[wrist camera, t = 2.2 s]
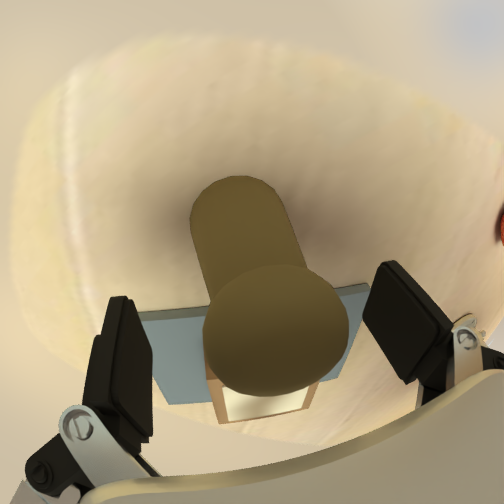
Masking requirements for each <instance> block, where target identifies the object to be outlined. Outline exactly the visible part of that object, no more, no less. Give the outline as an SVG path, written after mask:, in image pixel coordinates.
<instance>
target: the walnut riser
mask: <svg viewBox="0 0 504 504" xmlns="http://www.w3.org/2000/svg"><path fill="white" fill-rule="evenodd" d="M202 339H203V338H202ZM203 350H204V346H203ZM204 361H205V371H206V380H207V384H208V388H209V392H210V395H211V399H212V402H213V406H214V409H215V413H216V416H217V420H218V423H219V424H226V423H234V422H241V421H248V420H255V419H260V418H266V417H271V416H276V415H281V414H286V413H291V412H295V411H299V410H303V409H307V408H309V406H310V404H311V401H312V399H313V396H314V394H315V391H316V389H317V386H318V384H319V381H320V380H319V381H317V382H315V383H313V384H312V385H310V386H308V387H306V388H304V389H301V390H298V391H295V392H293V393H290V394H285V395H280V396H274V397H256V396H250V395H245V394H240V393H237V392H235V391H233V390H231V389H229V388H227V387H226V386H225V385H224V384H223V383H222V382H221V381H220V380H219V379H218V378H217V376H216V375H215V374H214V373H213V371H212V370H211V369H210V367H209V365H208V362H207V360H206V358H205V353H204Z"/></svg>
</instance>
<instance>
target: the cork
mask: <svg viewBox="0 0 504 504" xmlns="http://www.w3.org/2000/svg"><path fill="white" fill-rule="evenodd" d="M190 229H191V234H192V238H193V242H194V245H195V249H196V253H197V256H198V260H199V263H200V267H201V270H202V273H203V277H204V280H205V283H206V287H207V290H208V293H209V297H210V300H211V302H210V305H209V308H208V311H207V314H206V317H205V320H204V324H203V328H202V335H203V346H204V353H205V358H206V360H207V362H208V365H209V367H210V369H211V370H212V371H213V373H214V374H215V375H216V376H217V378H218V379H219V380H220V381H221V382H222V383H223V384H224V385H225V386H226V387H227V388H229V389H231V390H233V391H235V392H237V393H240V394H245V395H250V396H256V397H274V396H280V395H285V394H290V393H293V392H295V391H298V390H301V389H304V388H306V387H308V386H310V385H312V384H313V383H315V382H317V381H319V380H320V379H321V378H323V377H324V376H325V375H327V374H328V373H329V372H330V371H331V370H332V369H333V368H334V367H335V365H336V364H337V363H338V362H339V361H340V360H341V359H342V357H343V355H344V353H345V350H346V348H347V346H348V339H349V319H348V315H347V311H346V308H345V306H344V305H343V303H342V301H341V299H340V298H339V296H338V295H337V293H336V292H335V290H334V289H333V287H332V286H331V285H330V284H329V283H328V282H327V281H325V280H324V279H323V278H321V277H320V276H318V275H317V274H315V273H314V272H312V271H310V270H309V269H307V266H306V263H305V260H304V258H303V255H302V252H301V250H300V247H299V244H298V242H297V239H296V237H295V234H294V231H293V229H292V226H291V224H290V221H289V219H288V216H287V214H286V211H285V208H284V206H283V204H282V201H281V199H280V198H279V196H278V195H277V193H276V192H275V190H274V189H273V188H272V187H270V186H269V185H267V184H266V183H265V182H263V181H262V180H259V179H256V178H252V177H249V176H230V177H227V178H224V179H222V180H219V181H216V182H214V183H213V184H212V185H210V186H209V187H208V188H206V189H205V190H204V191H202V193H201V194H200V196H199V197H198V198H197V200H196V201H195V203H194V205H193V208H192V212H191V215H190Z"/></svg>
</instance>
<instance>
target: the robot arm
mask: <svg viewBox="0 0 504 504" xmlns="http://www.w3.org/2000/svg"><path fill="white" fill-rule="evenodd" d="M362 318H363V321H364V323H365V324H366V326H367V327H368V329H369V330H370V332H371V333H372V335H373V337H374V338H375V340H376V341H377V343H378V344H379V346H380V348H381V349H382V351H383V352H384V354H385V356H386V357H387V359H388V360H389V362H390V364H391V365H392V367H393V369H394V370H395V372H396V374H397V375H398V377H399V378H400V379H401V380H403V381H404V383H405V384H406V385H407V384H409V383H411V382H413V381H415V380H416V379H417V378H418V380H419V387H418V394H417V401H416V407H415V410H414V411H412V412H410V413H409V414H407V415H405V416H403V417H401V418H399V419H397V420H395V421H393V422H391V423H389V424H387V425H384V426H382V427H380V428H378V429H376V430H373V431H371V432H369V433H367V434H364V435H362V436H359V437H357V438H354V439H352V440H349V441H347V442H344V443H341V444H338V445H336V446H333V447H330V448H327V449H324V450H321V451H318V452H314V453H311V454H307V455H304V456H300V457H297V458H293V459H289V460H285V461H281V462H277V463H273V464H268V465H262V466H258V467H252V468H246V469H240V470H233V471H225V472H218V473H209V474H198V475H183V476H166V477H163V476H162V475H161V474H160V473H159V472H158V471H157V470H156V469H155V468H154V467H152V465H151V464H150V463H149V462H148V461H147V460H146V459H145V458H144V457H143V456H142V455H141V454H140V452H141V443H149V437H152V435H153V417H152V416H153V414H152V370H153V352H152V347H151V345H150V343H149V340H148V338H147V335H146V333H145V330H144V328H143V325H142V323H141V320H140V318H139V315H138V312H137V310H136V307H135V304H134V302H133V300H132V299H130V300H128V297H127V296H116V297H111V298H110V300H109V303H108V307H107V311H106V315H105V319H104V323H103V327H102V331H101V335H96V337H95V338H94V341H93V345H92V350H91V355H90V359H89V364H88V370H87V375H86V381H85V387H84V393H83V400H82V405H73V406H71V407H69V408H67V409H66V410H65V411H64V412H63V413H62V415H61V417H60V420H59V432H60V433H58V434H57V435H56V436H55V437H54V438H52V439H51V440H50V441H49V442H48V443H46V444H45V445H44V446H43V447H42V448H40V449H39V450H38V451H37V452H35V453H34V454H33V455H32V456H31V457H30V458H29V459H28V460H27V462H26V465H25V474H26V478H27V479H26V481H24V480H22V481H21V483H20V485H19V487H18V489H17V491H16V493H15V495H14V497H13V499H12V501H11V503H10V504H504V354H503V353H501V352H499V351H496V350H493V349H490V348H489V347H488V346H487V345H486V343H485V342H484V341H483V340H484V338H483V337H484V336H485V334H486V332H485V331H484V330H481V331H480V332H478V331H477V329H476V328H475V326H476V323H477V319H476V317H475V316H474V315H473V314H470V315H466V316H464V317H463V318H461V319H460V320H458V321H457V322H456V323H454V324H453V323H452V322H451V321H450V320H449V318H448V317H447V316H446V315H445V314H444V312H443V311H442V310H441V309H440V308H439V307H438V305H437V304H436V303H435V302H434V301H433V300H432V299H431V297H430V296H429V295H428V294H427V293H426V292H425V291H424V290H423V289H422V288H421V286H420V285H419V284H418V283H417V282H416V281H415V280H414V279H413V278H412V277H411V276H410V275H409V274H408V273H407V272H406V271H405V270H404V268H403V267H402V266H401V265H400V264H399V263H398V262H397V261H395V260H392V261H386V262H382V263H381V264H380V266H379V267H378V269H377V272H376V275H375V278H374V281H373V284H372V287H371V290H370V293H369V296H368V299H367V302H366V304H365V307H364V310H363V313H362Z"/></svg>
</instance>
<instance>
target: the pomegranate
mask: <svg viewBox="0 0 504 504" xmlns="http://www.w3.org/2000/svg"><path fill="white" fill-rule="evenodd" d="M501 240H502V244H503V246H504V214H503V216H502V218H501Z"/></svg>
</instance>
